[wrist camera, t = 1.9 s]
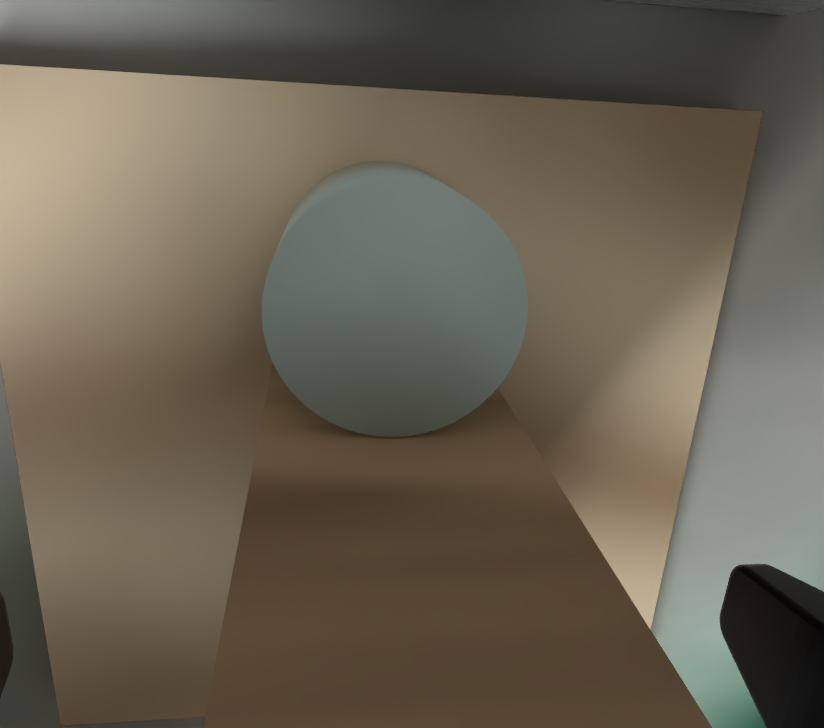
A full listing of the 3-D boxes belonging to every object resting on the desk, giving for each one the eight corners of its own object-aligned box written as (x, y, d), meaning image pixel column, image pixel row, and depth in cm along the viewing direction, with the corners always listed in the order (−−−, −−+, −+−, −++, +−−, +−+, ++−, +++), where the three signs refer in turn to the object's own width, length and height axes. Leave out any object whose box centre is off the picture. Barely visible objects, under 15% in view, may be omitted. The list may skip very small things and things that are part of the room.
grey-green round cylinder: (470, 358, 12) (513, 437, 9) (281, 356, 11) (264, 436, 9) (487, 165, 11) (542, 185, 8) (278, 156, 10) (257, 172, 7)
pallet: (615, 650, 16) (987, 1337, 7) (80, 678, 15) (-315, 1611, 6) (721, 110, 12) (1924, 120, 3) (-10, 66, 10) (-2171, -209, 1)
